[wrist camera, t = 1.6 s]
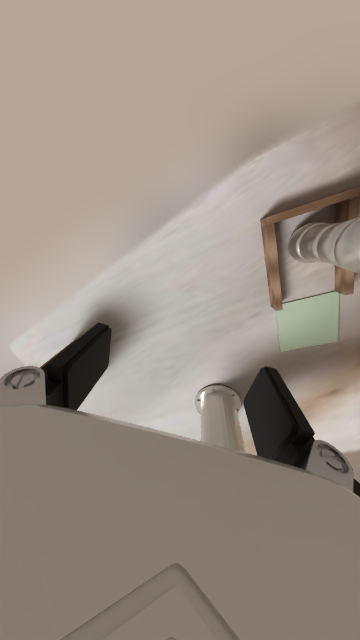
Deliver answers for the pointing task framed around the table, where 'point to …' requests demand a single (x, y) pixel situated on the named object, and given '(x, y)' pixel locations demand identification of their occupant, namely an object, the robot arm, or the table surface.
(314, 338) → the mat
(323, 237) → the plastic bottle
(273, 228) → the bottle rack
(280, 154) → the table surface
